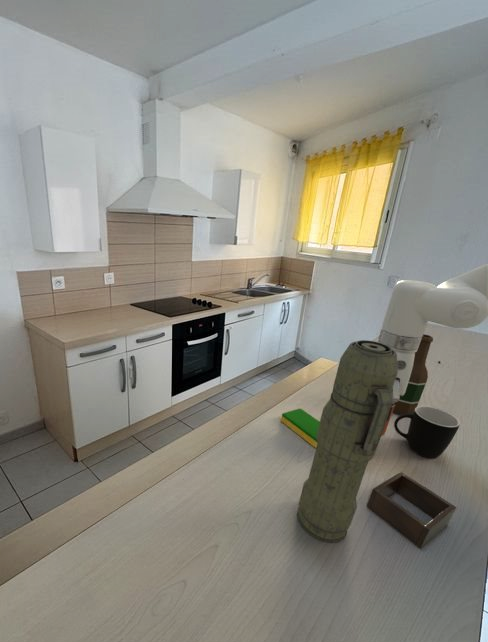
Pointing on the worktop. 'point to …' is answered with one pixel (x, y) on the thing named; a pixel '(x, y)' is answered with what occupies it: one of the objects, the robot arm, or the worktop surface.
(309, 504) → the thermos
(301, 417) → the dish sponge
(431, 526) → the brown rectangular open box
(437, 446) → the mug
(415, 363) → the beer bottle
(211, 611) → the worktop surface
